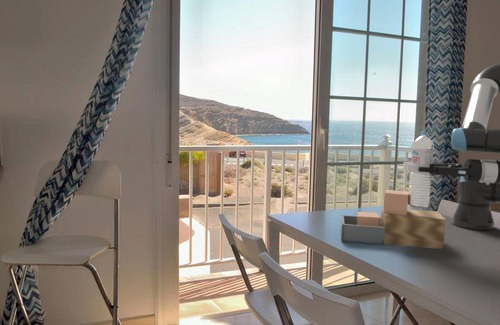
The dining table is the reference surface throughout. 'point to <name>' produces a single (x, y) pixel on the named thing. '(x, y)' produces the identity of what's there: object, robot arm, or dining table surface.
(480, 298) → the dining table surface
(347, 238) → the tray
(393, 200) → the salmon pink cube
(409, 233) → the zigzag patterned block
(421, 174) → the water bottle
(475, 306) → the dining table surface
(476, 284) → the dining table surface
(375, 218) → the pink block
